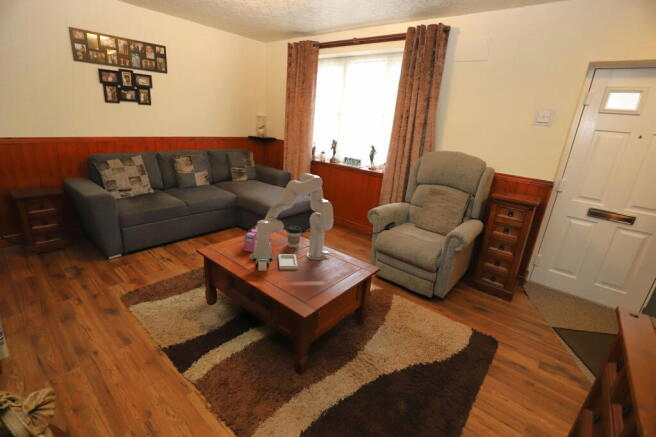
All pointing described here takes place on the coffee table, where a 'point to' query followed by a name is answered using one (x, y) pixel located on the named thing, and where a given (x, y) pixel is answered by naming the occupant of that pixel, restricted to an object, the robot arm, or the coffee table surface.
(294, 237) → the coffee cup
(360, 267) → the coffee table surface
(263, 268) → the teal-tabbed cream block
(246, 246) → the gum box
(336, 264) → the coffee table surface
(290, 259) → the tray
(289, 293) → the coffee table surface
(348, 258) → the coffee table surface
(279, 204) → the robot arm
